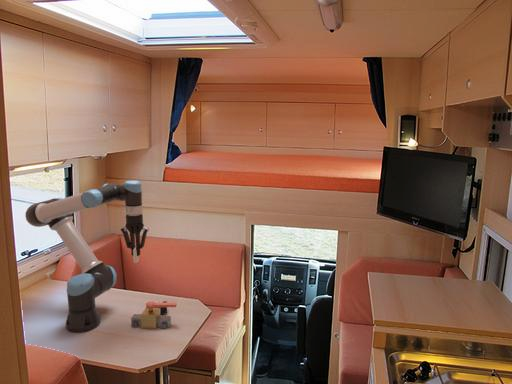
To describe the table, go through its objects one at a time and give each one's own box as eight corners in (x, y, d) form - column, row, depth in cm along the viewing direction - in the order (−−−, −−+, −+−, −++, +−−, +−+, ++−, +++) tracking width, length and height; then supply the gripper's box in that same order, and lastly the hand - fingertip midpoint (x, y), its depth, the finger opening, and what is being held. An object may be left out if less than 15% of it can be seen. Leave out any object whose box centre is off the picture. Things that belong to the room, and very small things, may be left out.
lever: (145, 308, 189) (145, 305, 188) (147, 304, 192) (147, 301, 192) (175, 308, 189) (175, 305, 189) (176, 304, 193) (176, 301, 193)
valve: (130, 327, 190) (129, 309, 188) (135, 320, 196) (134, 302, 195) (167, 329, 188) (167, 311, 187) (171, 321, 195) (171, 304, 194)
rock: (150, 321, 195) (150, 310, 194) (148, 312, 205) (148, 301, 204) (169, 318, 199) (169, 307, 197) (166, 309, 208) (166, 298, 207)
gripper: (117, 215, 185) (119, 264, 189) (145, 216, 184) (146, 265, 188) (123, 211, 192) (126, 258, 196) (150, 212, 191) (152, 259, 195)
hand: (136, 261), depth 192 cm, fingers closed
